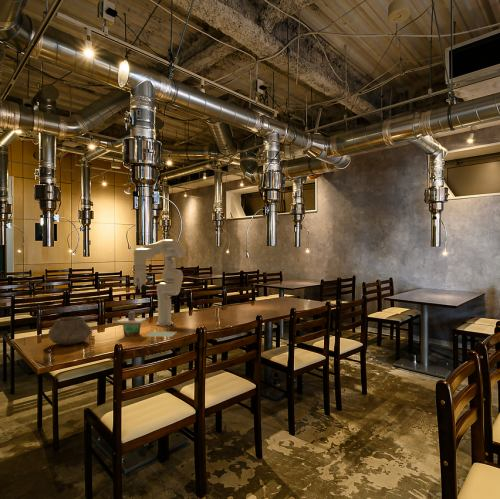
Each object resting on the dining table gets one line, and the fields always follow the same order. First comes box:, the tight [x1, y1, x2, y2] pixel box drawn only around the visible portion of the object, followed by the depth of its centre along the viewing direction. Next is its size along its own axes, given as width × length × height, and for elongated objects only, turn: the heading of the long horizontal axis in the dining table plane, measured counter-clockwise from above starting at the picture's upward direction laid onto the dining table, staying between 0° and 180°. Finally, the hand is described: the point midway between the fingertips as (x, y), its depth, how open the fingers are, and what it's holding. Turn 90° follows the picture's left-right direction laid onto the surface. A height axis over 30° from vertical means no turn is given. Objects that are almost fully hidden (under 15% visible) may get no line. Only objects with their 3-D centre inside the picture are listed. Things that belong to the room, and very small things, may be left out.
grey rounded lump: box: [47, 316, 92, 346], centre depth 195 cm, size 22×21×15 cm
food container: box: [121, 322, 143, 337], centre depth 211 cm, size 12×6×10 cm, turn 105°
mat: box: [146, 331, 177, 338], centre depth 215 cm, size 13×17×1 cm
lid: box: [116, 311, 147, 324], centre depth 211 cm, size 10×15×6 cm, turn 88°
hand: (140, 293), depth 217 cm, fingers open, 9 cm apart
